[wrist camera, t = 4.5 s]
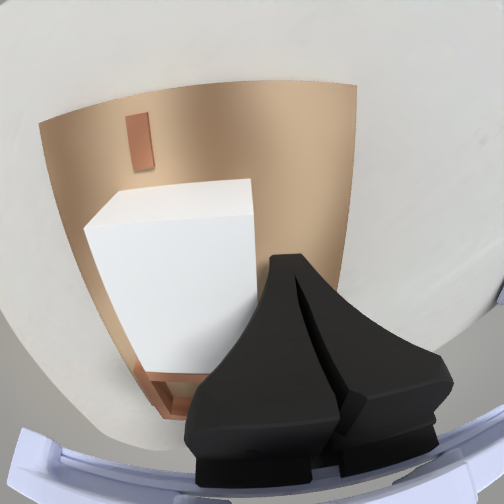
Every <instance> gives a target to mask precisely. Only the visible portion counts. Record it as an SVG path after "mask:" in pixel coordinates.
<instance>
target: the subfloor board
mask: <svg viewBox="0 0 504 504" xmlns="http://www.w3.org/2000/svg"><path fill="white" fill-rule="evenodd" d="M356 103H357V85H350V84H340V83H328V82H312V81H240V82H224V83H212V84H202V85H193V86H185V87H178V88H171V89H165V90H159V91H153V92H148V93H143V94H138V95H133V96H128V97H124V98H119V99H115V100H111V101H107V102H103V103H100V104H96V105H92V106H89V107H85V108H82V109H79V110H75V111H72V112H69V113H66V114H63V115H60V116H57V117H54V118H52V119H49V120H46V121H43V122H41V123H39V128H40V134H41V140H42V145H43V151H44V155H45V160H46V165H47V169H48V173H49V177H50V181H51V185H52V189H53V193H54V197H55V200H56V204H57V207H58V210H59V214H60V217H61V220H62V223H63V226H64V229H65V232H66V235H67V238H68V241H69V244H70V246H71V249H72V252H73V255H74V257H75V260H76V262H77V265H78V267H79V270H80V272H81V275H82V277H83V280H84V282H85V284H86V287H87V289H88V291H89V293H90V296H91V298H92V300H93V302H94V304H95V306H96V309H97V311H98V313H99V315H100V317H101V319H102V321H103V323H104V325H105V327H106V329H107V331H108V333H109V335H110V336H111V338H112V340H113V342H114V344H115V346H116V348H117V349H118V351H119V353H120V355H121V356H122V358H123V360H124V362H125V363H126V365H127V367H128V368H129V370H130V372H131V373H132V375H133V377H134V378H135V380H136V382H137V383H138V385H139V386H140V388H141V389H142V391H143V393H144V394H145V396H146V397H147V399H148V400H149V402H150V403H151V405H153V406H155V408H156V409H157V410H158V412H159V413H160V415H161V416H162V418H163V419H173V420H186V418H187V414H188V410H189V407H190V404H191V401H192V399H193V396H194V394H195V392H196V389H197V387H198V386H199V385H200V384H201V383H202V382H203V381H204V380H205V378H206V377H207V376H208V375H209V374H210V373H165V372H147V371H145V370H144V368H143V366H142V364H141V363H140V361H139V359H138V357H137V355H136V353H135V351H134V349H133V347H132V345H131V343H130V341H129V339H128V337H127V335H126V333H125V331H124V329H123V327H122V325H121V323H120V321H119V319H118V316H117V314H116V312H115V310H114V307H113V305H112V303H111V301H110V298H109V296H108V294H107V291H106V289H105V286H104V284H103V281H102V279H101V276H100V274H99V271H98V269H97V266H96V263H95V260H94V258H93V255H92V252H91V249H90V246H89V244H88V241H87V238H86V235H85V231H84V227H85V226H86V225H87V224H88V223H89V222H90V221H91V219H92V218H93V217H94V216H95V215H96V214H97V213H98V212H99V211H100V210H101V209H102V208H103V207H104V206H105V205H106V204H107V203H108V202H109V200H110V199H111V198H112V197H113V196H114V195H115V194H116V193H117V192H118V191H123V190H130V189H138V188H146V187H155V186H164V185H173V184H183V183H194V182H206V181H219V180H235V179H251V188H252V200H253V212H254V231H255V254H256V277H257V300H258V302H259V300H260V298H261V295H262V293H263V290H264V287H265V284H266V280H267V277H268V272H269V257H270V256H271V255H276V254H296V253H301V254H302V255H303V256H304V257H305V258H306V259H307V260H308V261H309V263H310V264H311V265H312V266H313V267H314V268H315V270H316V271H317V272H318V273H319V274H320V275H321V276H322V277H323V278H324V279H325V281H326V282H327V283H328V284H329V285H330V286H331V287H332V288H333V289H334V290H335V291H336V292H337V287H338V281H339V276H340V270H341V263H342V257H343V250H344V244H345V237H346V229H347V221H348V213H349V205H350V195H351V185H352V175H353V162H354V148H355V131H356Z"/></svg>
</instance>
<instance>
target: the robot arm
mask: <svg viewBox="0 0 504 504" xmlns="http://www.w3.org/2000/svg"><path fill="white" fill-rule="evenodd" d="M497 303H498V304H499V305H503V304H504V287H503V289H502V291H501V293H500V295H499V297H498V299H497ZM453 384H454V382H453V379H452V377H451V375H450V373H449V371H448V369H447V367H446V365H445V363H444V361H443V359H442V358H441V356H439V355H437V354H435V353H432V352H430V351H428V350H425V349H423V348H420V347H418V346H416V345H414V344H411V343H410V342H408V341H406V340H404V339H402V338H400V337H398V336H396V335H394V334H393V333H391V332H389V331H387V330H386V329H384V328H383V327H381V326H380V325H378V324H376V323H375V322H373V321H372V320H370V319H369V318H368V317H366V316H365V315H363V314H362V313H361V312H360V311H358V310H357V309H356V308H354V307H353V306H352V305H351V304H349V303H348V302H347V301H346V300H345V299H344V298H343V297H342V296H341V295H339V294H338V293H337V292H336V291H335V290H334V289H333V288H332V287H331V286H330V285H329V284H328V283H327V282H326V281H325V279H324V278H323V277H322V276H321V275H320V274H319V273H318V272H317V271H316V270H315V268H314V267H313V266H312V265H311V264H310V263H309V261H308V260H307V259H306V258H305V257H304V256H303V255H302V254H301V253H296V254H276V255H271V256H270V257H269V272H268V277H267V280H266V284H265V287H264V290H263V293H262V295H261V298H260V300H259V302H258V305H257V307H256V309H255V311H254V313H253V315H252V317H251V319H250V321H249V323H248V325H247V326H246V328H245V329H244V331H243V333H242V334H241V336H240V337H239V339H238V340H237V342H236V343H235V345H234V346H233V347H232V349H231V350H230V351H229V352H228V354H227V355H226V356H225V357H224V359H223V360H222V361H221V363H220V364H219V365H218V366H217V367H216V368H215V369H214V370H213V371H212V372H211V373H210V374H209V375H208V376H207V377H206V378H205V380H204V381H203V382H202V383H201V384H200V385H199V386H198V387H197V389H196V392H195V394H194V396H193V399H192V401H191V404H190V407H189V410H188V414H187V418H186V424H185V434H184V441H185V444H186V445H187V447H188V448H189V449H190V451H191V452H192V453H193V455H194V456H195V457H196V473H195V474H194V473H182V472H172V471H164V470H156V469H149V468H144V467H138V466H132V465H127V464H122V463H118V462H113V461H109V460H104V459H101V458H97V457H93V456H89V455H86V454H82V453H79V452H76V451H73V450H69V449H66V448H63V447H62V446H61V445H60V444H59V443H57V442H56V441H54V440H53V439H51V438H49V437H48V436H45V435H43V434H40V433H38V432H36V431H33V430H31V429H28V428H26V427H23V428H22V430H21V433H20V436H19V439H18V442H17V446H16V449H15V452H14V456H13V459H12V463H11V467H10V471H9V475H8V480H7V485H8V486H10V487H11V488H13V489H15V490H16V491H18V492H19V493H21V494H23V495H25V496H26V497H28V498H30V499H32V500H33V501H35V502H37V503H39V504H231V502H230V501H229V500H219V499H209V498H202V497H223V498H251V497H273V496H285V495H295V494H303V493H311V492H317V491H323V490H328V489H335V488H340V487H344V486H348V485H353V484H358V483H362V482H366V481H370V480H373V479H376V478H380V477H384V476H387V475H390V474H393V473H397V472H399V471H403V470H406V469H408V468H411V467H414V466H417V465H419V464H422V463H424V462H427V461H429V460H432V459H434V458H435V459H434V460H432V461H430V462H428V463H426V464H424V465H421V466H419V467H417V468H416V469H415V470H414V471H412V472H411V473H409V474H408V475H406V476H404V477H402V478H401V479H398V480H396V481H394V482H393V483H392V486H389V487H386V488H382V489H379V490H375V491H372V492H368V493H364V494H361V495H357V496H352V497H348V498H344V499H339V500H334V501H329V502H324V503H318V504H476V503H477V501H478V496H477V493H479V492H480V491H481V490H483V489H484V488H486V487H487V486H488V485H490V484H491V483H492V482H494V481H495V480H496V479H498V478H499V477H500V476H501V475H503V474H504V404H502V405H500V406H499V407H497V408H495V409H493V410H492V411H490V412H488V413H486V414H484V415H482V416H480V417H478V418H476V419H474V420H472V421H471V422H468V423H466V424H464V425H462V426H460V427H458V428H455V429H453V430H451V431H449V432H446V433H444V434H442V435H439V436H436V433H435V430H434V427H433V424H435V423H436V417H435V415H434V411H435V410H436V409H437V408H438V406H439V405H440V404H441V403H442V402H443V401H444V400H445V399H446V398H447V396H448V395H449V394H450V392H451V390H452V387H453ZM186 495H189V496H186ZM195 496H202V497H195Z"/></svg>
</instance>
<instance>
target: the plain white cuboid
mask: <svg viewBox="0 0 504 504" xmlns="http://www.w3.org/2000/svg"><path fill="white" fill-rule="evenodd" d="M84 231H85V235H86V238H87V241H88V244H89V246H90V249H91V252H92V255H93V258H94V260H95V263H96V266H97V269H98V271H99V274H100V276H101V279H102V281H103V284H104V286H105V289H106V291H107V294H108V296H109V298H110V301H111V303H112V305H113V307H114V310H115V312H116V314H117V316H118V319H119V321H120V323H121V325H122V327H123V329H124V331H125V333H126V335H127V337H128V339H129V341H130V343H131V345H132V347H133V349H134V351H135V353H136V355H137V357H138V359H139V361H140V363H141V364H142V366H143V368H144V370H145V371H147V372H165V373H211V372H212V371H213V370H214V369H215V368H216V367H217V366H218V365H219V364H220V363H221V361H222V360H223V359H224V357H225V356H226V355H227V354H228V352H229V351H230V350H231V349H232V347H233V346H234V345H235V343H236V342H237V340H238V339H239V337H240V336H241V334H242V333H243V331H244V329H245V328H246V326H247V325H248V323H249V321H250V319H251V317H252V315H253V313H254V311H255V309H256V307H257V305H258V300H257V277H256V254H255V231H254V212H253V200H252V188H251V179H235V180H219V181H206V182H194V183H183V184H173V185H164V186H155V187H146V188H138V189H130V190H123V191H118V192H117V193H116V194H115V195H114V196H113V197H112V198H111V199H110V200H109V202H108V203H107V204H106V205H105V206H104V207H103V208H102V209H101V210H100V211H99V212H98V213H97V214H96V215H95V216H94V217H93V218H92V219H91V221H90V222H89V223H88V224H87V225H86V226H85V227H84Z"/></svg>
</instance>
